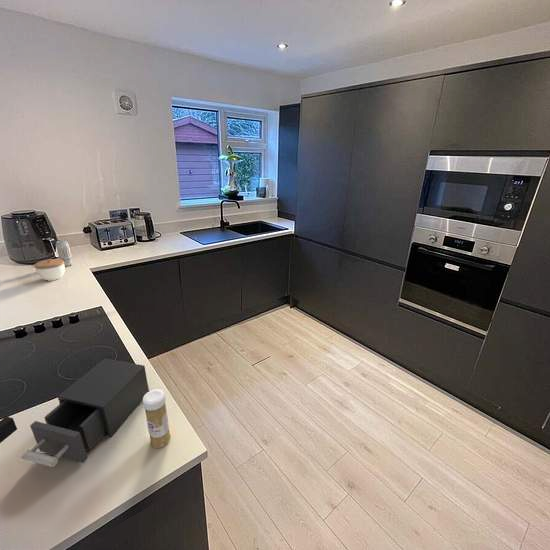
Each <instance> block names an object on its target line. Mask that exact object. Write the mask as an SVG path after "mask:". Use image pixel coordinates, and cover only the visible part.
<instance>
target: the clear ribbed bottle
mask: <svg viewBox="0 0 550 550" xmlns="http://www.w3.org/2000/svg"><path fill="white" fill-rule="evenodd" d="M55 247H56V250H57V254H58V259H61V260H63V261H64V265H65V266H67V267H71V266H73V264H74V261H73V256H72V252H71V249H70V245H69V243H68V242H67V240H66V239H65V240H64V239H61V240H57V241H56V243H55ZM70 265H71V266H70Z"/></svg>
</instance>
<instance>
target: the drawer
mask: <svg viewBox="0 0 550 550" xmlns="http://www.w3.org/2000/svg"><path fill="white" fill-rule="evenodd" d="M43 418H44V420H45V423H44V422H41V421H38V420H34V421H33V422H32V423H31V424H30V425H29V427H30V430H31V431H32V434H33V436H34V439H35V442H36V444H35V445H34V446H33V447H32V448H30V449H27V450H26V451H24V452H23V454H22V456H21V458H22V459H23V460H25V461H29V462H31V463H32V462H33V463H36V464H39V465H43V466H46V467H50V468H53V467H55V466H56V465H57V464H58V461H59V458H64V459H67V460H70V461H74V462H77V463H81V464H84V463H85V462H86V461H87V459H88V455H87V451H89V452H91V450H92V449H93V448H94V446H95V445H96V444H97V443H98V442H99V441H100V440H101V439H102V438H103V435H104V434H105V433H106V432H107V429H106V425H105V421H104V418H103V414H102V410H101V409H99V408H95V407H91V406H86V405H82V404H78V403H73V402H69V401H65V400H64V401H63V402H62V403H61V404H60V403H59V404H58V405H57V406H55V407H54V408H53V409H52V410H51V411H50V412H49V413H47V414H46V415H45V416H44V417H43ZM37 450H39V452H38V451H37ZM52 455H53V456H52Z"/></svg>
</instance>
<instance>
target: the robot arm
mask: <svg viewBox="0 0 550 550" xmlns="http://www.w3.org/2000/svg"><path fill="white" fill-rule="evenodd" d="M17 430H18V427H17V425H16V422H15V420H14V418H13V417H10V416H5V417H3V418H1V420H0V444H1V443H2V442H4V441H5V440H6V439H7V438H9V437H10V436H11V435H12V434H14V433H15V432H16V431H17Z"/></svg>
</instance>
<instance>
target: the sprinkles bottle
mask: <svg viewBox="0 0 550 550" xmlns="http://www.w3.org/2000/svg"><path fill="white" fill-rule="evenodd" d="M142 405H143V408H144V411H145V417H146V423H147V430H148V435H149V440H150V446H152V448H155V449H161V448H163V447H165V446H166V445H167V444H168V443H169V442H170V440H171V439H172V438H171V435H172V434H171V432H170V424H169V418H168V410H167V406H166V394H165V392H164V391H163V390H162V389H158V388H157V389H151V390H149V392H148V393H146V394H145V395H144V397H143V401H142Z"/></svg>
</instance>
